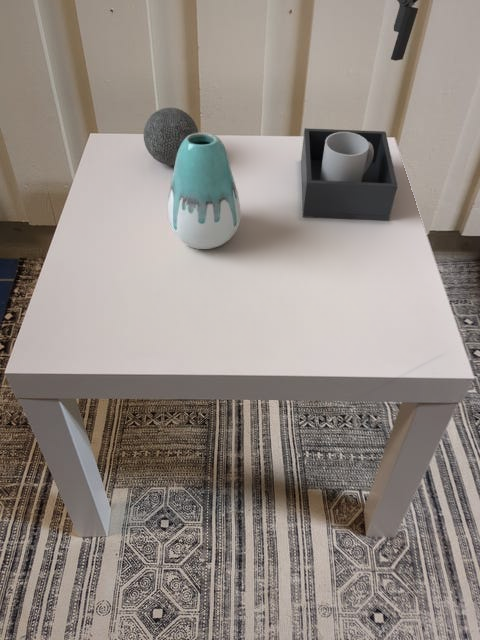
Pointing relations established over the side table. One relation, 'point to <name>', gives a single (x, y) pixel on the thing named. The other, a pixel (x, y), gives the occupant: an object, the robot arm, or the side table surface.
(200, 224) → the vase
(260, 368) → the side table surface
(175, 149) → the decorative ball
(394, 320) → the side table surface
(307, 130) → the open box
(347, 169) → the cup
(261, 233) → the side table surface
